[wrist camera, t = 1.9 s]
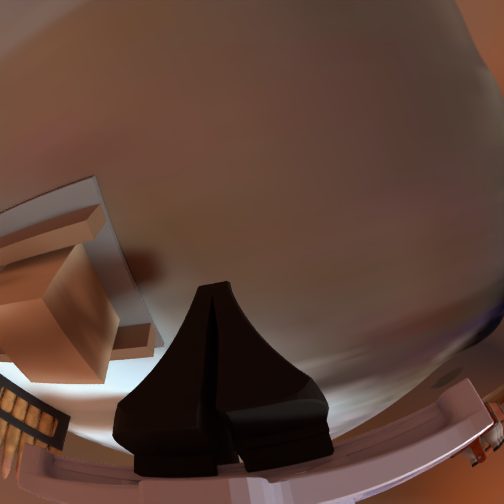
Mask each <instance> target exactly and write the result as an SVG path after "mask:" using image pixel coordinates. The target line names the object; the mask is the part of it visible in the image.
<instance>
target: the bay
mask: <svg viewBox="0 0 504 504" xmlns="http://www.w3.org/2000/svg"><path fill="white" fill-rule="evenodd" d="M80 243H82V245H83V247H84V249H85V252H86V254H87V256H88V258H89V260H90V263H91V265H92V267H93V269H94V271H95V273H96V275H97V277H98V279H99V281H100V283H101V285H102V287H103V289H104V291H105V293H106V295H107V297H108V299H109V301H110V303H111V305H112V306H113V308H114V310H115V312H116V314H117V315H118V317H119V319H120V322H119V325H118V329H117V333H116V336H115V340H114V344H113V348H112V352H111V356H110V360H123V359H135V358H145V357H153V355H154V348H157V347H164V341H163V339H162V338H161V336H160V334H159V332H158V330H157V328H156V326H155V324H154V322H153V320H152V318H151V316H150V314H149V312H148V310H147V308H146V305H145V303H144V301H143V299H142V297H141V295H140V293H139V290H138V288H137V286H136V284H135V282H134V279H133V277H132V275H131V272H130V270H129V268H128V265H127V263H126V260H125V258H124V256H123V253H122V251H121V248H120V246H119V243H118V240H117V238H116V235H115V233H114V230H113V227H112V225H111V222H110V219H109V216H108V213H107V211H106V208H105V205H104V202H103V199H102V196H101V193H100V190H99V186H98V183H97V180H96V177H95V175H94V176H91V177H88V178H85V179H82V180H79V181H77V182H74V183H71V184H68V185H66V186H63V187H60V188H58V189H55V190H52V191H50V192H47V193H45V194H42V195H40V196H37V197H35V198H33V199H30V200H28V201H26V202H23V203H21V204H19V205H16V206H14V207H12V208H10V209H8V210H6V211H3V212H1V213H0V273H1V272H2V271H3V269H4V268H5V267H6V266H7V264H9V263H12V262H16V261H19V260H22V259H26V258H29V257H33V256H36V255H40V254H43V253H47V252H50V251H54V250H57V249H61V248H65V247H68V246H72V245H76V244H80ZM110 360H109V361H110ZM0 362H12V361H11V359H10V358H9V357H8V356H7V355H6V353H5V352H4V351H3V350H2V348H1V347H0Z"/></svg>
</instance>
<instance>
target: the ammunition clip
mask: <svg viewBox="0 0 504 504" xmlns="http://www.w3.org/2000/svg"><path fill="white" fill-rule="evenodd" d="M2 394H3V395H2ZM1 396H2V398H1ZM0 399H1V401H0V447H1V445H2V443H3V440H4V436H5V432H6V428H7V426H8V428H7V432H6V436H5V440H4V450H3V458H2V476H3V479H6V477H7V476H8V474H9V472H10V469H11V464H12V460H13V457H14V454H15V452H16V450H17V446H18V452H17V454H18V456H17V465H16V481H17V483H18V476H19V469H20V463H21V458H22V453H23V448H24V443H29V444H32V445H33V441H35V442H34V445H36V446H40V447H42V448H45V449H47V448H48V451H50V452H51V453H53V454H54V455H57V456H61V452H62V449H63V445H64V441H65V437H66V433H67V429H68V425H69V421H70V418H71V417H70V416H68V415H67V414H65V413H63V412H61V411H59V410H57V409H55V408H53V407H52V406H50V405H48V404H46V403H45V402H43V401H41V400H39V399H38V398H36V397H34V396H33V395H31V394H30V393H28V392H26V391H25V390H23V389H22V388H20V387H19V386H17V385H16V384H14V383H13V382H11V381H10V380H8V379H7V378H6V377H4V376H3V375H1V374H0ZM15 400H16V401H15ZM14 402H15V404H14ZM13 405H14V407H13ZM12 408H13V410H12ZM27 408H28V410H27ZM26 411H27V413H26ZM11 412H12V414H11ZM25 415H26V417H25ZM40 415H41V416H40ZM39 417H40V420H39ZM24 418H25V421H24ZM38 421H39V425H38ZM23 422H24V423H23ZM53 422H54V423H53ZM52 424H53V427H52ZM37 425H38V429H37ZM51 428H52V432H51ZM36 429H37V430H36ZM50 432H51V437H50ZM20 433H21V437H20ZM19 437H20V441H19ZM18 441H19V445H18Z"/></svg>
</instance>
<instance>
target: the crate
mask: <svg viewBox="0 0 504 504" xmlns="http://www.w3.org/2000/svg"><path fill="white" fill-rule="evenodd" d="M119 322H120V319H119V317H118V315H117V314H116V312H115V310H114V308H113V306H112V305H111V303H110V301H109V299H108V297H107V295H106V293H105V291H104V289H103V287H102V285H101V283H100V281H99V279H98V277H97V275H96V273H95V271H94V269H93V267H92V265H91V263H90V260H89V258H88V256H87V254H86V252H85V249H84V247H83V245H82V243H80V244H76V245H72V246H68V247H65V248H61V249H57V250H54V251H50V252H47V253H43V254H40V255H36V256H33V257H29V258H26V259H22V260H19V261H16V262H12V263H9V264H7V266H6V267H5V268H4V269H3V271H2V272H1V273H0V347H1V348H2V350H3V351H4V352H5V353H6V355H7V356H8V357H9V358H10V359H11V361H12V362H13V363H14V364H15V365H16V366H17V367H18V369H19V370H20V371H21V372H22V373H23V374H24V375H25V376H26V377H27V378H28V379H29V380H30V382H36V383H56V384H104V382H105V378H106V373H107V369H108V364H109V360H110V356H111V352H112V348H113V344H114V340H115V336H116V333H117V329H118V325H119Z"/></svg>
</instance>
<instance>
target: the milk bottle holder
mask: <svg viewBox="0 0 504 504" xmlns="http://www.w3.org/2000/svg"><path fill="white" fill-rule="evenodd" d="M484 406H485V407H486V409H487V411H488V413H489V414H490V416H491V418H492V420H493V425H491V426H490V427H489V428H488V429H487V430H486V431H484V432H483V433H482V434H481V435H480V436H478V437H477V438H476V439H475V440H473V441H472V442H471V443H470V444H468V445H467V446H466V447H464V448H463V449H461V450H460V451H458V452H456V453H455V454H453V455H452V456H450V458H454V457H455V456H457V455H458V454H460V453H462V455H463V456H464V457H465V458H467V459H468V460H469V461H470V464H472V467H474V466H475V465H477V464H478V463H482V462H483V461H484V460H486V458H487V455H488V454H489V453H490V452H491V451H492V450H494V452H495V451H496V450H497V449H498V448H500V446H501V445H502V444H503V442H504V436H503V433H502V432H503V428H502V425H501V423H502V422H503V419H504V411H503V410H502V408H501V406H500V404H499V403H498V402H492V403H489V402H486V403H485V404H484ZM485 442H487V443H489V445H490V446H488V447H487V448H486V449H485V448H484V446H485ZM454 455H455V456H454Z"/></svg>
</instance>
